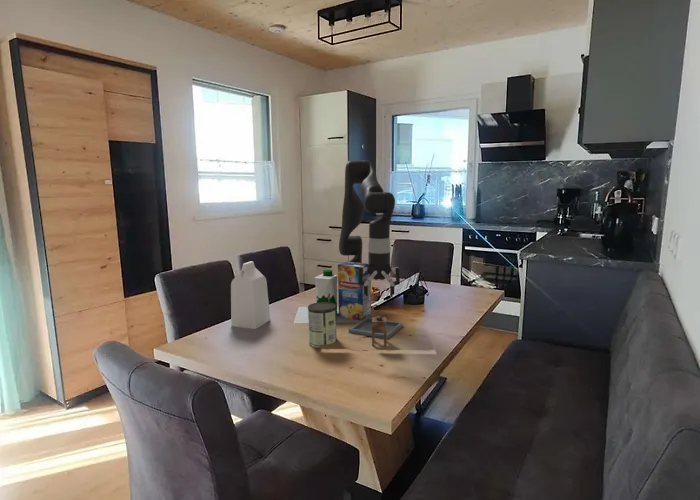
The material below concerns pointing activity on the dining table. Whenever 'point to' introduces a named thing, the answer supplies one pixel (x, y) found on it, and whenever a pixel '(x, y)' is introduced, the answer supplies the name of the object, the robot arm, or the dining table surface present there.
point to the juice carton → (353, 292)
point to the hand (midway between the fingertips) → (379, 296)
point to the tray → (366, 328)
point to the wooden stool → (378, 327)
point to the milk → (249, 298)
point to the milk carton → (326, 288)
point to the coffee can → (322, 323)
